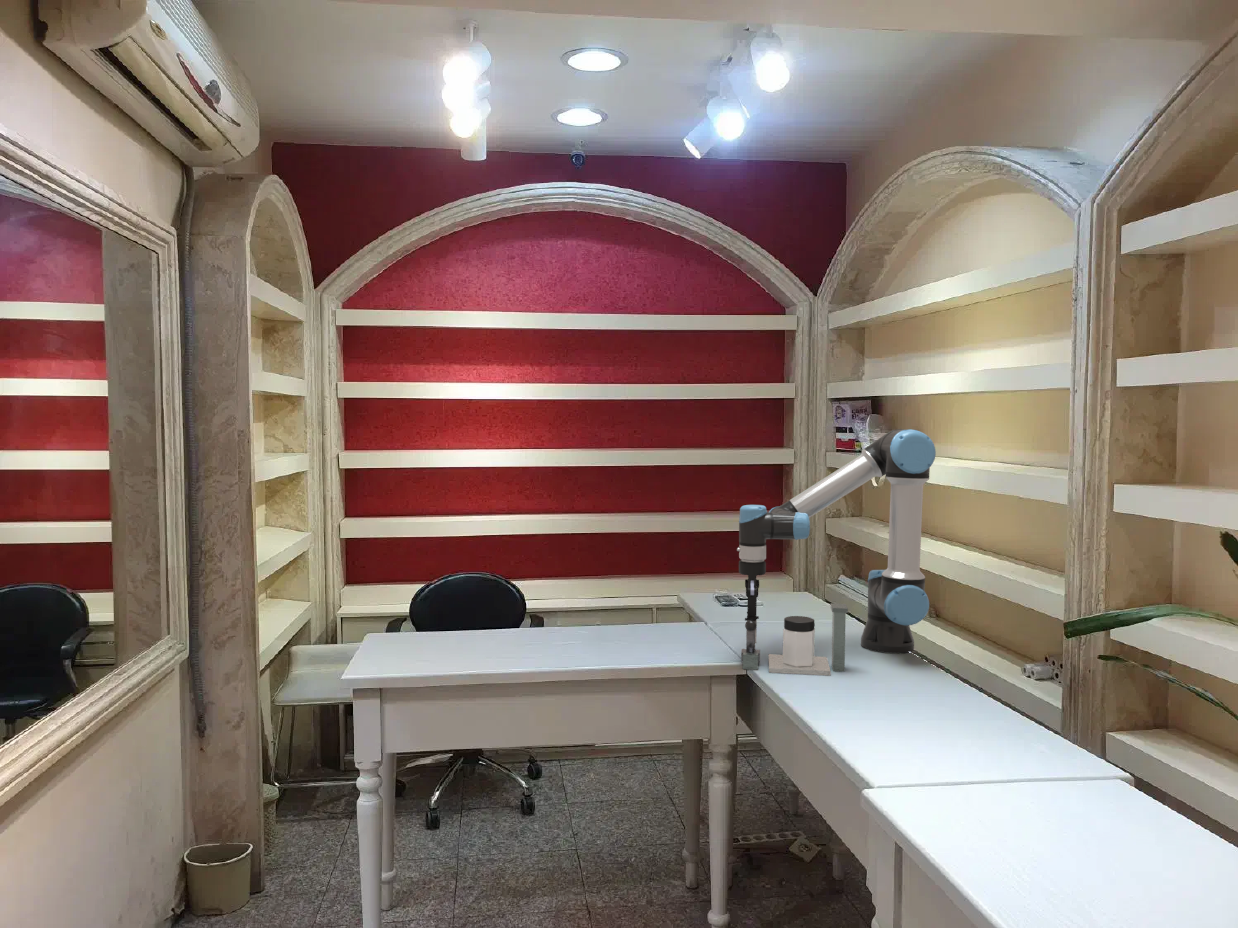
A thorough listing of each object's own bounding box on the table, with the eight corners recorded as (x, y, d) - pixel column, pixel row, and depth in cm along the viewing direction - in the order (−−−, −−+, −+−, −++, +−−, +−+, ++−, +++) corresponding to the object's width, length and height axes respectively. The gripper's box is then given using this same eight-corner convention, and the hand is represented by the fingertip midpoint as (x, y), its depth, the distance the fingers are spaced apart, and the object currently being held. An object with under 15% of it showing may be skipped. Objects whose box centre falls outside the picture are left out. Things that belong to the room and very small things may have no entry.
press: (842, 658, 247) (843, 598, 246) (848, 676, 230) (849, 611, 230) (743, 654, 252) (744, 594, 251) (742, 671, 235) (743, 607, 234)
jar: (821, 663, 238) (822, 619, 238) (802, 668, 233) (802, 624, 232) (795, 656, 245) (796, 614, 244) (776, 661, 240) (776, 618, 239)
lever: (759, 658, 244) (760, 618, 243) (759, 662, 240) (760, 621, 239) (741, 657, 245) (741, 617, 244) (741, 661, 241) (741, 621, 240)
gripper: (739, 556, 254) (738, 636, 255) (738, 563, 241) (738, 648, 242) (765, 556, 253) (764, 637, 254) (766, 564, 240) (765, 649, 241)
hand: (751, 642), depth 248 cm, fingers closed
